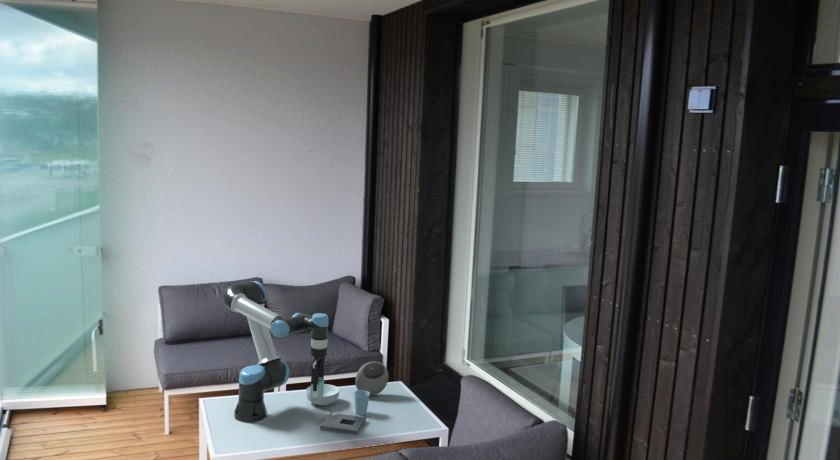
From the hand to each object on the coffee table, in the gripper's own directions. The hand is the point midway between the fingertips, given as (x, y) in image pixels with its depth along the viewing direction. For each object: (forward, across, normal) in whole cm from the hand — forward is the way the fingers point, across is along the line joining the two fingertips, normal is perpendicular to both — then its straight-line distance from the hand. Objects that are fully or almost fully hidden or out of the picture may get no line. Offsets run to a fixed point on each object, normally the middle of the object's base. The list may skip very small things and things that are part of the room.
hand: (316, 395), depth 328 cm
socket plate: (+15, +4, -12) cm, 20 cm away
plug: (+1, 0, 0) cm, 1 cm away
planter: (+15, +45, -15) cm, 50 cm away
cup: (+15, +21, -16) cm, 31 cm away
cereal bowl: (+15, +27, +6) cm, 31 cm away
